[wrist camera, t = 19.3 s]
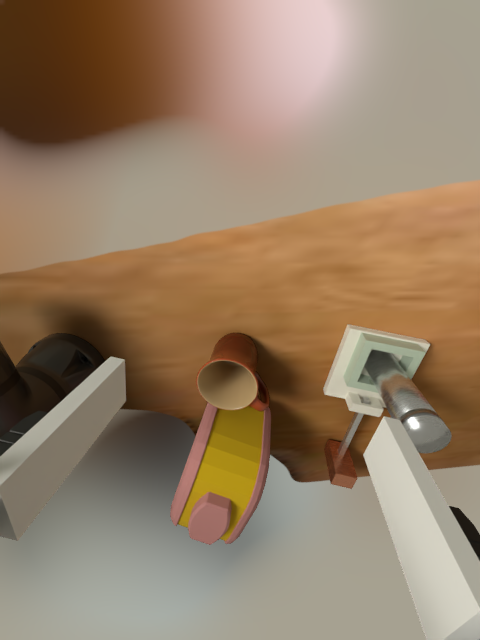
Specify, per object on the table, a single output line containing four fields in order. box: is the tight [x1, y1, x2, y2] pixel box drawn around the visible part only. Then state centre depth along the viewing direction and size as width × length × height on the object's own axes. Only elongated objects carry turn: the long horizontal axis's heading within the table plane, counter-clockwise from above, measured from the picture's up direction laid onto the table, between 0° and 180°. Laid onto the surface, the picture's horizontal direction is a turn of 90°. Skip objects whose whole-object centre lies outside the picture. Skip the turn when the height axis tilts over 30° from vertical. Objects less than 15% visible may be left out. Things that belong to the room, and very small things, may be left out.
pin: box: [324, 396, 370, 488], centre depth 45 cm, size 4×16×7 cm, turn 171°
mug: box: [196, 333, 270, 411], centre depth 41 cm, size 12×9×10 cm
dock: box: [323, 324, 430, 417], centre depth 41 cm, size 12×13×4 cm
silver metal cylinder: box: [364, 350, 451, 453], centre depth 34 cm, size 4×4×15 cm
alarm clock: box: [170, 403, 271, 545], centre depth 43 cm, size 18×11×19 cm, turn 162°
